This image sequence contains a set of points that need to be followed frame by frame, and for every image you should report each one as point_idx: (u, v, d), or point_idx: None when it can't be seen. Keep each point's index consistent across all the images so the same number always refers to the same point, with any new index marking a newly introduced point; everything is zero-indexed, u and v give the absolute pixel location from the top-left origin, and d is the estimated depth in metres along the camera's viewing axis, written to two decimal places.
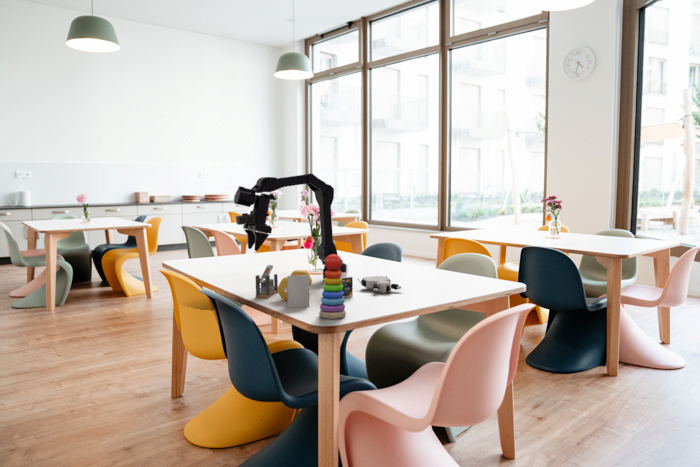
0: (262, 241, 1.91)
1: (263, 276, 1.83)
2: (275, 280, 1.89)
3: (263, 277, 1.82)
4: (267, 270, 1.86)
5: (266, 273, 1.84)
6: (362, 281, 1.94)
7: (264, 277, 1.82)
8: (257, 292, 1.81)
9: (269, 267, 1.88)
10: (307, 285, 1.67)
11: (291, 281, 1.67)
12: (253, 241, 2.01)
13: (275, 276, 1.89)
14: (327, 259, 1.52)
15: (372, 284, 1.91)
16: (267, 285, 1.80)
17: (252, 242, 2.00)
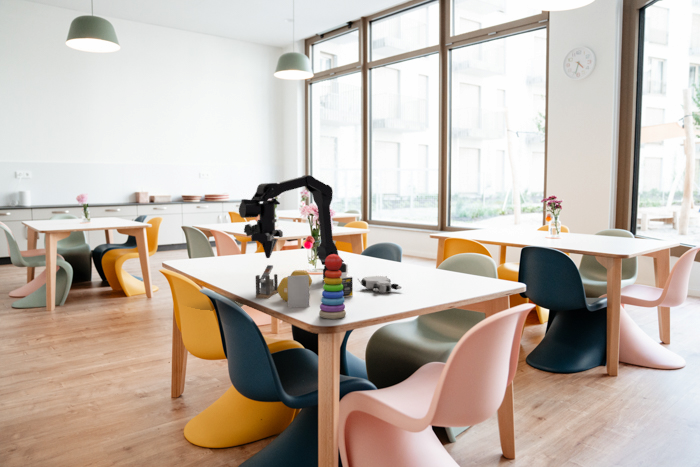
0: (269, 248, 1.93)
1: (263, 276, 1.83)
2: (275, 280, 1.89)
3: (263, 277, 1.82)
4: (267, 270, 1.86)
5: (266, 273, 1.84)
6: (362, 281, 1.94)
7: (264, 277, 1.82)
8: (257, 292, 1.81)
9: (269, 267, 1.88)
10: (307, 285, 1.67)
11: (291, 281, 1.67)
12: None
13: (275, 276, 1.89)
14: (327, 259, 1.52)
15: (372, 284, 1.91)
16: (267, 285, 1.80)
17: None
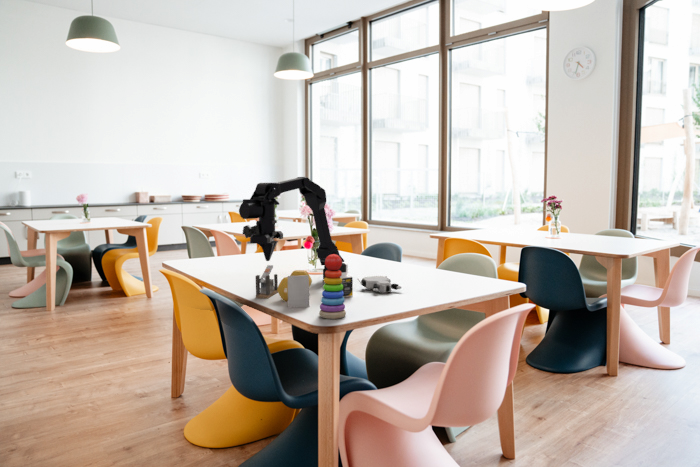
0: (269, 250, 1.84)
1: (263, 276, 1.83)
2: (275, 280, 1.89)
3: (263, 277, 1.82)
4: (267, 270, 1.86)
5: (266, 273, 1.84)
6: (362, 281, 1.94)
7: (264, 277, 1.82)
8: (257, 292, 1.81)
9: (269, 267, 1.88)
10: (307, 285, 1.67)
11: (291, 281, 1.67)
12: None
13: (275, 276, 1.89)
14: (327, 259, 1.52)
15: (372, 284, 1.91)
16: (267, 285, 1.80)
17: None
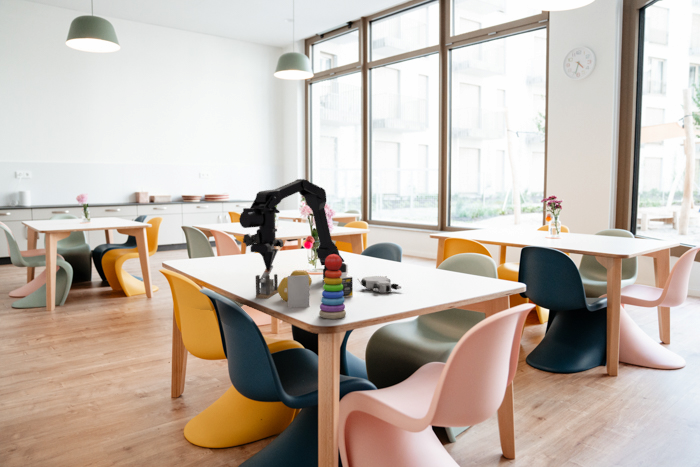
0: (270, 259, 1.85)
1: (263, 276, 1.83)
2: (275, 280, 1.89)
3: (263, 277, 1.82)
4: (267, 270, 1.86)
5: (266, 273, 1.84)
6: (362, 281, 1.93)
7: (264, 277, 1.82)
8: (257, 292, 1.81)
9: None
10: (307, 285, 1.67)
11: (291, 281, 1.67)
12: None
13: (275, 276, 1.89)
14: (327, 259, 1.52)
15: (372, 284, 1.91)
16: (267, 285, 1.80)
17: None
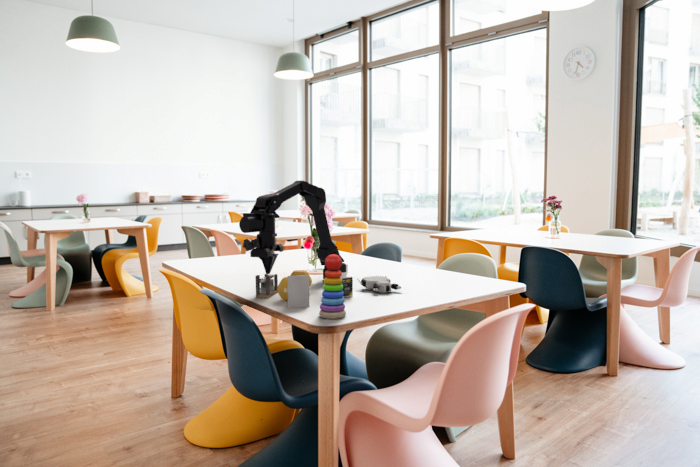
0: (270, 264, 1.85)
1: (263, 278, 1.83)
2: (275, 280, 1.89)
3: (263, 278, 1.83)
4: None
5: None
6: (362, 281, 1.93)
7: (264, 278, 1.83)
8: (257, 292, 1.81)
9: (270, 275, 1.89)
10: (307, 285, 1.67)
11: (291, 281, 1.67)
12: None
13: (275, 276, 1.89)
14: (327, 259, 1.52)
15: (372, 284, 1.91)
16: (267, 285, 1.80)
17: None
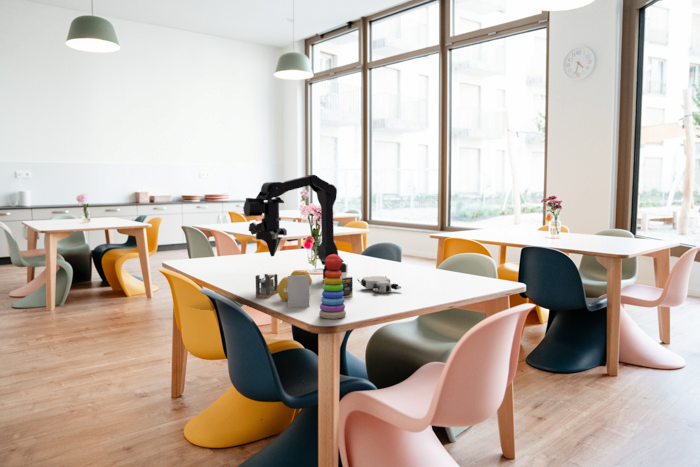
0: (274, 246, 1.95)
1: (263, 278, 1.83)
2: (275, 280, 1.89)
3: (263, 278, 1.83)
4: None
5: None
6: (362, 281, 1.93)
7: (264, 278, 1.83)
8: (257, 292, 1.81)
9: (270, 275, 1.89)
10: (307, 285, 1.67)
11: (291, 281, 1.67)
12: None
13: (275, 276, 1.89)
14: (327, 259, 1.52)
15: (372, 284, 1.91)
16: (267, 285, 1.80)
17: None
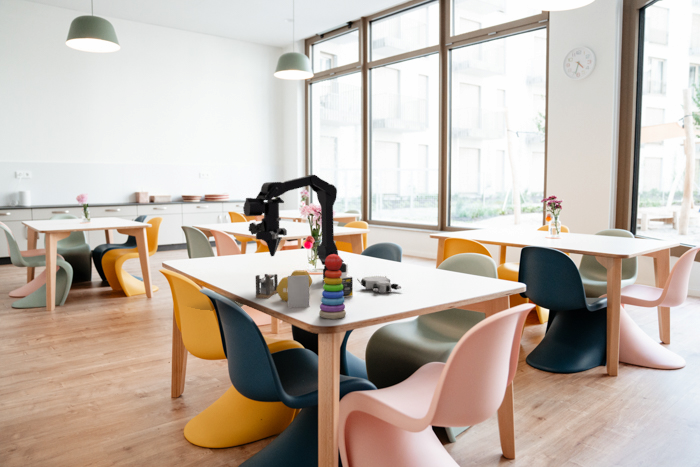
0: (274, 246, 1.95)
1: (263, 278, 1.83)
2: (275, 280, 1.89)
3: (263, 278, 1.83)
4: None
5: None
6: (362, 281, 1.93)
7: (264, 278, 1.83)
8: (257, 292, 1.81)
9: (270, 275, 1.89)
10: (307, 285, 1.67)
11: (291, 281, 1.67)
12: None
13: (275, 276, 1.89)
14: (327, 259, 1.52)
15: (372, 284, 1.91)
16: (267, 285, 1.80)
17: None
